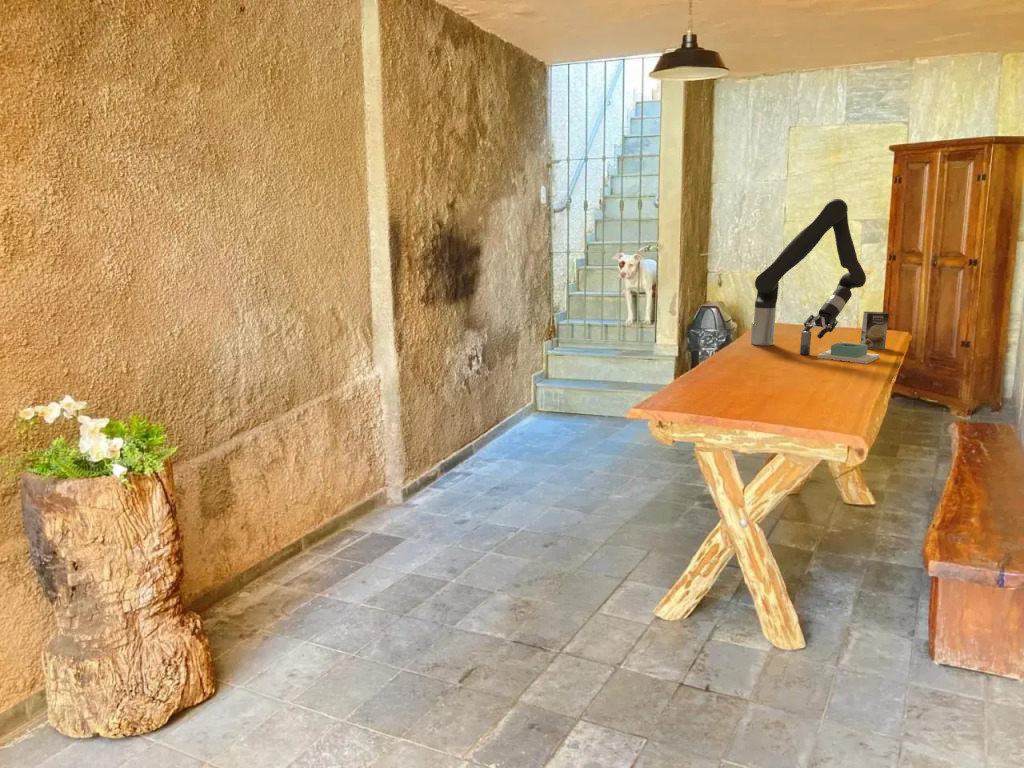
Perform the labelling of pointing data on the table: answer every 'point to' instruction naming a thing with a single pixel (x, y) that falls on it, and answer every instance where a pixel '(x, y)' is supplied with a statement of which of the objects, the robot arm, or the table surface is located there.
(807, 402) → the table surface
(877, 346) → the coffee box
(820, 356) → the socket board
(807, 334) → the dark grey tall block
